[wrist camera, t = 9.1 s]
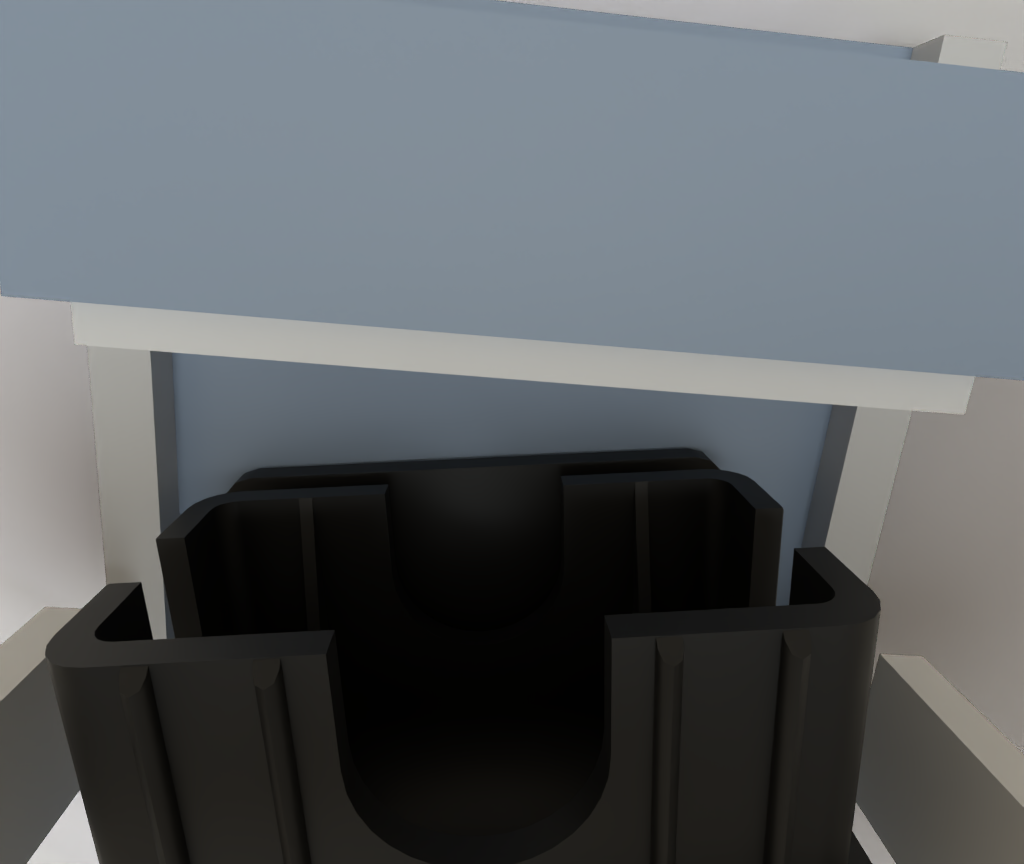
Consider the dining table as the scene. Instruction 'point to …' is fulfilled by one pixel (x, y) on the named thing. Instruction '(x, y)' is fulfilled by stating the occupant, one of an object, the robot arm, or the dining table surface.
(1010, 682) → the dining table surface
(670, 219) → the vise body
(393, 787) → the end cap
